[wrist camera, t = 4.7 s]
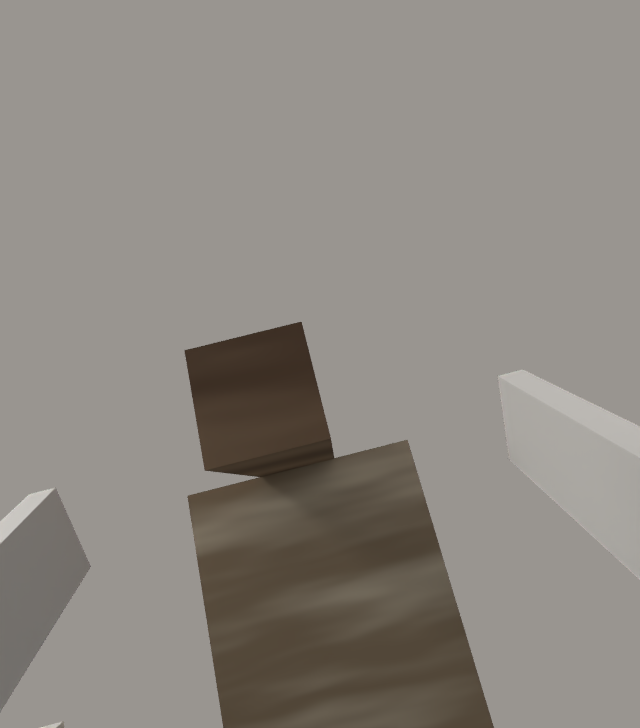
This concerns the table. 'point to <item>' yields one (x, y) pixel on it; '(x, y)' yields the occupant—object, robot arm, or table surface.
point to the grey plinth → (55, 725)
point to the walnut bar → (258, 403)
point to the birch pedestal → (333, 600)
